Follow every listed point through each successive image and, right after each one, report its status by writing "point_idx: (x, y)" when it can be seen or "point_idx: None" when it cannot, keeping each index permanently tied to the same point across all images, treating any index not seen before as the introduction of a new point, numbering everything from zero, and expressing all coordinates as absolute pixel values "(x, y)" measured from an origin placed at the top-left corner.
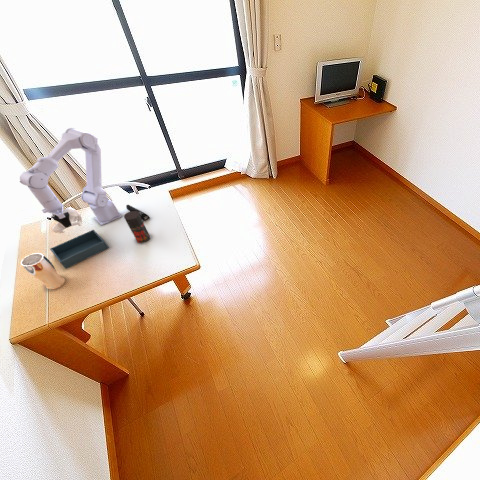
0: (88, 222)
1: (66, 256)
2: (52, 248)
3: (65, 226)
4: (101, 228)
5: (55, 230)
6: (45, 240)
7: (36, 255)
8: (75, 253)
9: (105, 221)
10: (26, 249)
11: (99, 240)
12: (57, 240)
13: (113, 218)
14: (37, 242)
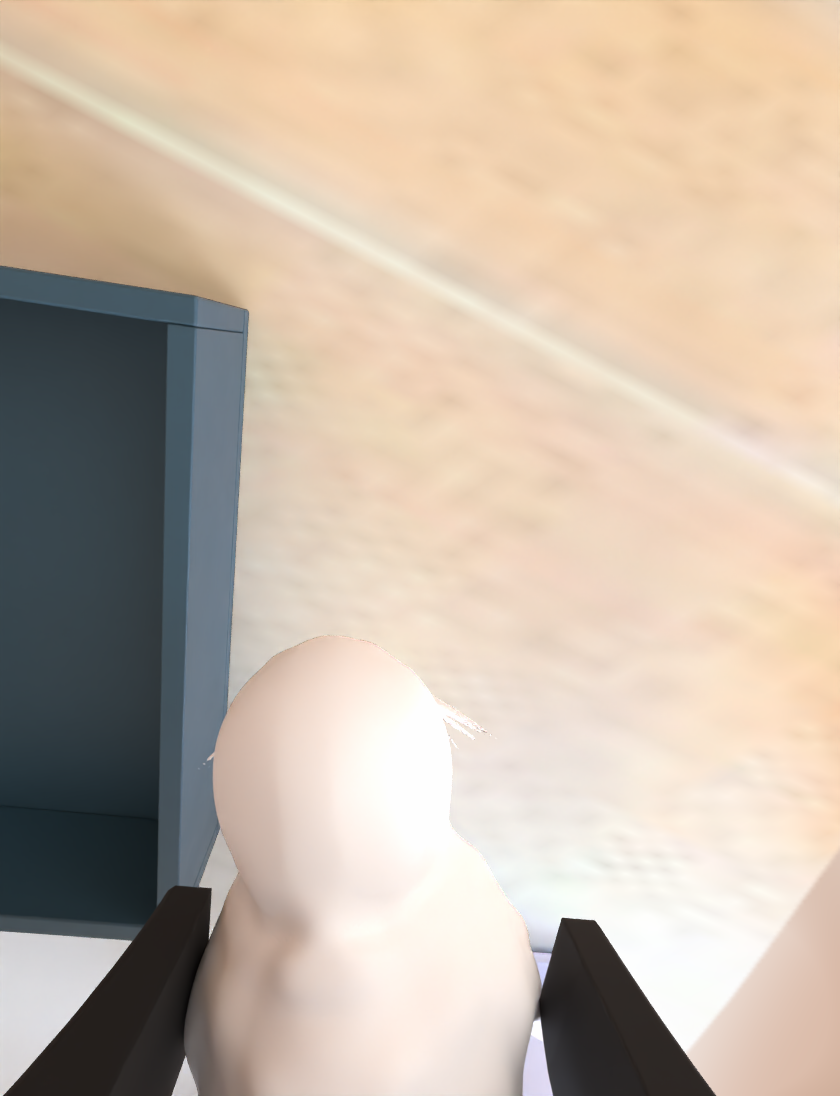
0: (580, 881)
1: (72, 395)
2: (168, 335)
3: (147, 934)
4: None
5: (241, 707)
6: (720, 397)
7: None
8: (48, 506)
9: None
10: (777, 100)
11: (97, 807)
12: (571, 498)
13: None
14: (782, 302)
